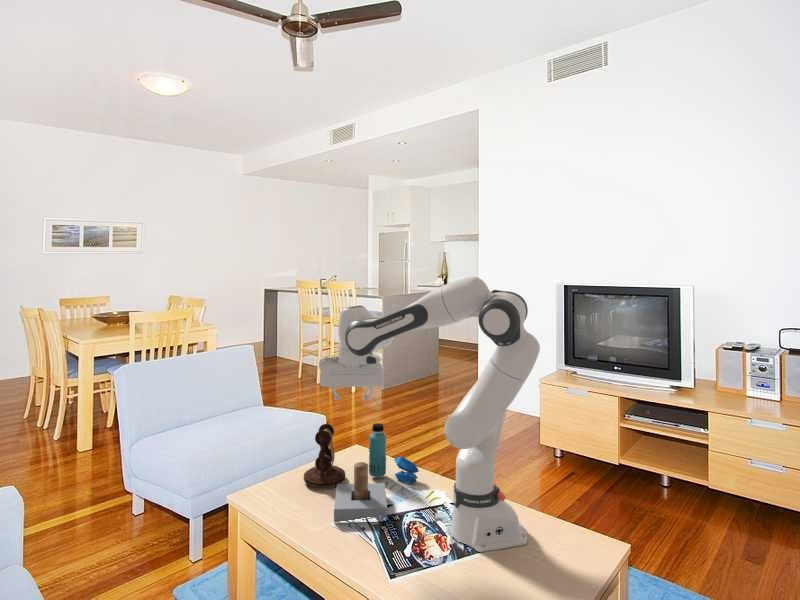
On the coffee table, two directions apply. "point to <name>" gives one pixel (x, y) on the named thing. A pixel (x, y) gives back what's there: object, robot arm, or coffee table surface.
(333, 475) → the dark brown ring stand
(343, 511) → the grey square socket block
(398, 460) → the open blue clamshell
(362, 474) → the walnut dowel
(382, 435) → the beverage bottle
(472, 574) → the coffee table surface
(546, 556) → the coffee table surface
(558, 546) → the coffee table surface
